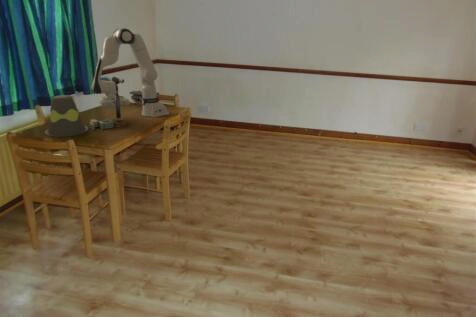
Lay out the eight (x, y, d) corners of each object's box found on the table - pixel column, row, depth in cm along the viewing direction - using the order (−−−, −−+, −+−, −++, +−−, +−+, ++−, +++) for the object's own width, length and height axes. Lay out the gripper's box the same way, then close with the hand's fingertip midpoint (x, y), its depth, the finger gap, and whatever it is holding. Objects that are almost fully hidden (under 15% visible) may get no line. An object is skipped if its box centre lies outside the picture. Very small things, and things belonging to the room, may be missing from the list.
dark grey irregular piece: (159, 104, 339) (159, 92, 335) (156, 106, 332) (155, 94, 328) (134, 102, 343) (133, 90, 339) (130, 104, 336) (129, 92, 332)
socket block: (110, 125, 271) (110, 119, 269) (113, 127, 265) (113, 122, 263) (89, 127, 263) (89, 122, 261) (92, 130, 257) (92, 124, 256)
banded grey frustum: (40, 137, 239) (34, 101, 230) (48, 126, 264) (43, 92, 255) (86, 135, 246) (82, 99, 238) (89, 124, 271) (86, 91, 263)
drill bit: (120, 116, 271) (118, 90, 264) (121, 117, 268) (119, 91, 261) (115, 117, 269) (113, 91, 262) (117, 118, 266) (115, 92, 260)
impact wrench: (123, 106, 326) (121, 78, 317) (100, 104, 330) (97, 76, 321) (128, 104, 333) (125, 76, 324) (105, 102, 337) (102, 75, 328)
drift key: (96, 124, 270) (95, 118, 269) (98, 127, 265) (98, 121, 263) (90, 125, 268) (89, 119, 267) (93, 127, 262) (92, 122, 261)
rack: (123, 123, 276) (123, 119, 275) (127, 125, 270) (126, 122, 269) (112, 124, 272) (112, 120, 271) (116, 127, 266) (115, 123, 265)
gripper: (97, 98, 268) (102, 101, 258) (125, 95, 279) (131, 99, 269) (98, 106, 271) (103, 110, 260) (126, 104, 282) (132, 107, 271)
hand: (118, 104), depth 264 cm, fingers closed on drill bit, 3 cm apart
